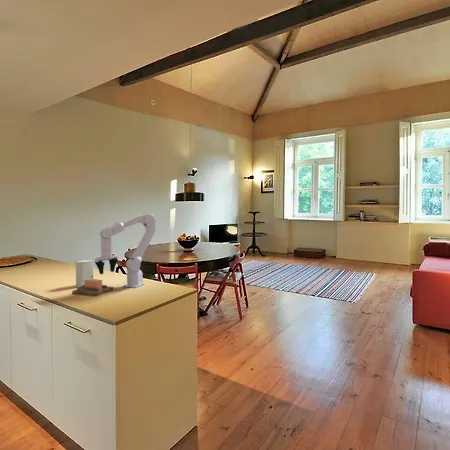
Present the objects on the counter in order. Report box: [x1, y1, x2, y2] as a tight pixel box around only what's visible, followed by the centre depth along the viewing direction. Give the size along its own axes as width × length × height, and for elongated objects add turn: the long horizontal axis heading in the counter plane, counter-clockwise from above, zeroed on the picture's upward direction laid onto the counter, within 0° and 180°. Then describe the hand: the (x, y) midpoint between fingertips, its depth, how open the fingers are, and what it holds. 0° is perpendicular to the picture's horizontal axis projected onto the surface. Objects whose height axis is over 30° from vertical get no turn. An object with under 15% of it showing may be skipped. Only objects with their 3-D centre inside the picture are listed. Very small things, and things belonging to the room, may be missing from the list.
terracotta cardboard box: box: [84, 278, 103, 290], centre depth 184 cm, size 4×9×5 cm, turn 65°
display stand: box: [71, 284, 114, 297], centre depth 184 cm, size 14×16×3 cm
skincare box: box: [75, 259, 94, 287], centre depth 198 cm, size 8×6×15 cm
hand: (107, 272), depth 189 cm, fingers open, 7 cm apart
